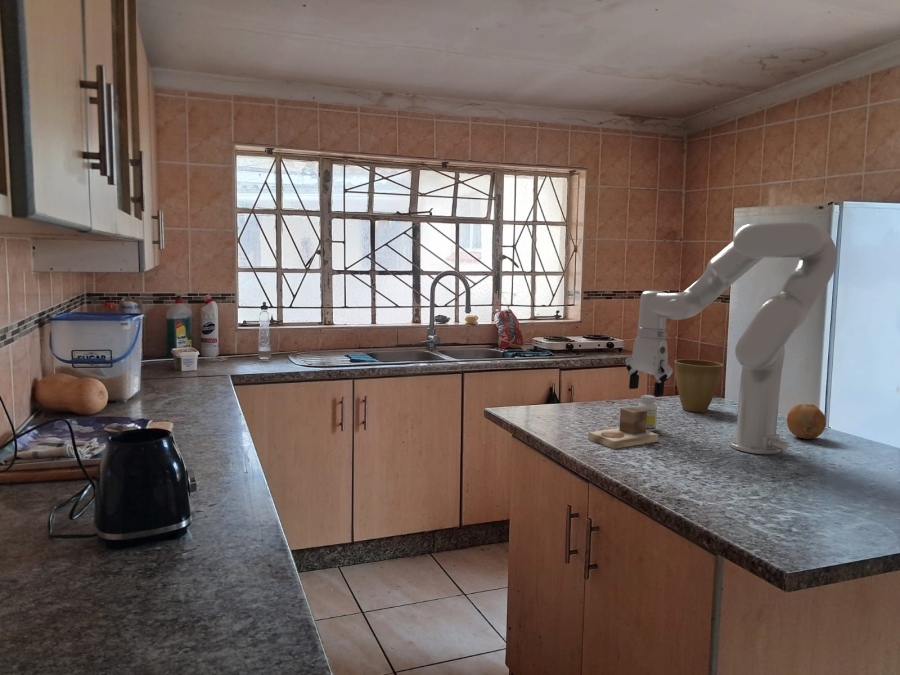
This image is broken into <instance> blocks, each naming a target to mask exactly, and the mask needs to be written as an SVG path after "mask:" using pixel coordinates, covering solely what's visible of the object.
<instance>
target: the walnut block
mask: <svg viewBox="0 0 900 675" xmlns="http://www.w3.org/2000/svg"><path fill="white" fill-rule="evenodd" d="M619 411H620V413H619V414H620V415H619V427H618V428H619V430H621V431H624V432H627V433H630V434H638V433H644V432H646V423H647V411H646V410H643V409H639V408H638V407H637V406H636V407H635V406H632V407H623V408H620V410H619Z"/></svg>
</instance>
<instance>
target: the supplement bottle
mask: <svg viewBox="0 0 900 675" xmlns="http://www.w3.org/2000/svg"><path fill="white" fill-rule="evenodd" d="M655 401H656V396H654V395H652V394H651V395H650V394H642V395H640V402H639V403H638V404H637V408H639V409H643V410H646V411H647V423H646V431H649V432H653V431H656V430H657V415H658V413H657V412H658V406H657V404H656V403H655Z"/></svg>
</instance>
